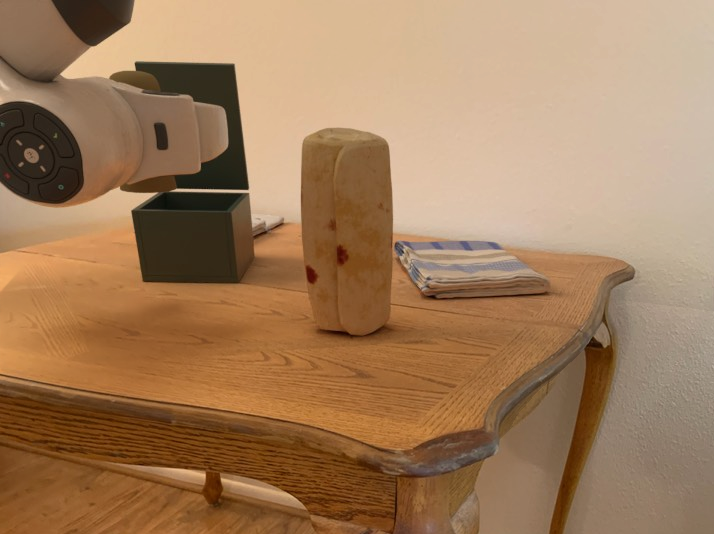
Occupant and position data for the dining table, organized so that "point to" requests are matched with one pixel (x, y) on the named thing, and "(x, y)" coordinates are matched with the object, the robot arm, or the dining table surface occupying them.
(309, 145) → the food model
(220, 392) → the dining table surface
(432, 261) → the dish towel
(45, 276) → the dining table surface
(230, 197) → the bin
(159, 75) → the bin lid
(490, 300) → the dining table surface
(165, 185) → the cork
